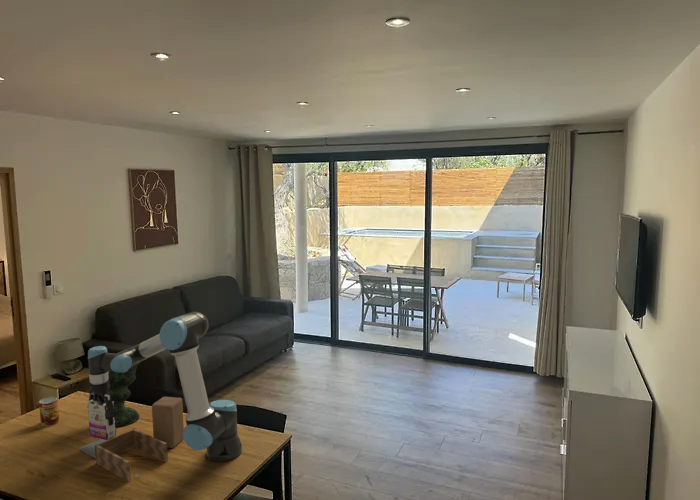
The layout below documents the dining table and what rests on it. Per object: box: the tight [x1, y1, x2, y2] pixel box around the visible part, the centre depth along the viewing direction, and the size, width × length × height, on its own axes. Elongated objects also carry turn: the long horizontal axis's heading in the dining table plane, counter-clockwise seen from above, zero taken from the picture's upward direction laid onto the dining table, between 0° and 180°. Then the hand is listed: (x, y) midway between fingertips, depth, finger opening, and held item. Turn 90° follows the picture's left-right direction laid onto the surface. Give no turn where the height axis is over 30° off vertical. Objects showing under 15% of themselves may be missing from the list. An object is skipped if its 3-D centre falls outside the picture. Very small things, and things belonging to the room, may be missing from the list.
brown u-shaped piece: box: [95, 428, 169, 482], centre depth 206 cm, size 24×18×8 cm
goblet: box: [106, 361, 142, 428], centre depth 244 cm, size 22×22×30 cm
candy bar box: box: [87, 399, 117, 440], centre depth 217 cm, size 11×5×16 cm, turn 68°
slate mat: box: [79, 438, 106, 459], centre depth 218 cm, size 14×14×1 cm
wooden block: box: [151, 396, 185, 449], centre depth 221 cm, size 10×10×20 cm
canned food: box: [38, 396, 60, 428], centre depth 242 cm, size 8×8×12 cm
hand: (102, 428), depth 217 cm, fingers closed on candy bar box, 12 cm apart
